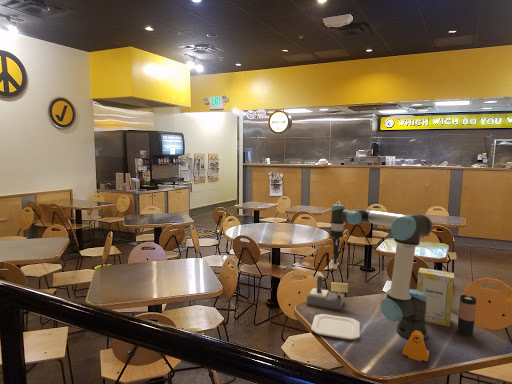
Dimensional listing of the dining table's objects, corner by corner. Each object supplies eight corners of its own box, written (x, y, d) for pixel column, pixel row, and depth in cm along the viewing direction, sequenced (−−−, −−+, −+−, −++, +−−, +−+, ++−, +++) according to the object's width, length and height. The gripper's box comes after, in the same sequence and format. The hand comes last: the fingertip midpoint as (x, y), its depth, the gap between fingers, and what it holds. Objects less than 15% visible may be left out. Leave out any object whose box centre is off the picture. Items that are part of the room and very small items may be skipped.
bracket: (428, 356, 173) (431, 331, 172) (427, 363, 167) (429, 337, 166) (404, 349, 178) (406, 325, 177) (402, 356, 172) (404, 331, 171)
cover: (325, 298, 226) (326, 280, 225) (309, 295, 230) (310, 277, 229) (328, 292, 237) (329, 275, 236) (313, 290, 240) (314, 272, 239)
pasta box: (414, 318, 214) (418, 272, 211) (416, 312, 223) (419, 267, 220) (449, 326, 205) (454, 277, 203) (449, 319, 215) (454, 273, 212)
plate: (359, 323, 206) (359, 319, 206) (359, 344, 182) (360, 339, 182) (315, 316, 213) (315, 312, 212) (309, 335, 189) (310, 331, 189)
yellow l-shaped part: (330, 297, 228) (331, 283, 227) (329, 291, 238) (330, 278, 237) (347, 298, 227) (348, 284, 226) (345, 293, 237) (346, 279, 236)
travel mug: (464, 337, 193) (468, 300, 191) (453, 330, 200) (456, 295, 198) (476, 336, 195) (480, 299, 193) (464, 329, 202) (468, 294, 201)
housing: (340, 310, 222) (341, 302, 222) (306, 304, 229) (307, 296, 229) (343, 302, 235) (344, 294, 235) (311, 296, 242) (312, 289, 242)
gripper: (344, 233, 212) (341, 272, 214) (342, 227, 232) (340, 262, 234) (330, 232, 214) (328, 271, 216) (330, 226, 233) (328, 261, 236)
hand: (334, 266), depth 225 cm, fingers open, 7 cm apart
